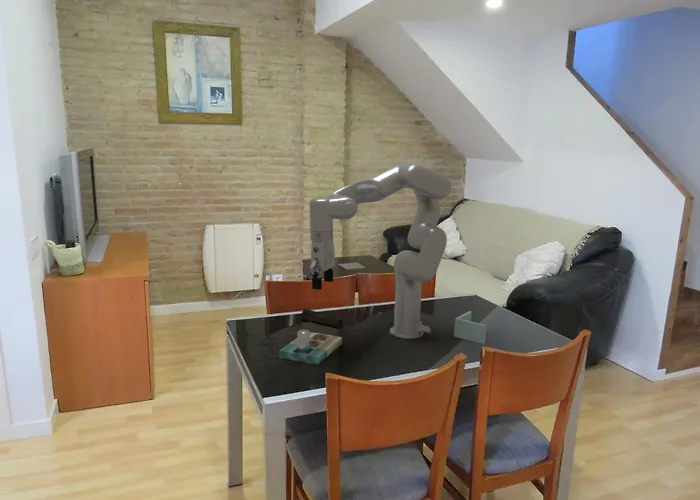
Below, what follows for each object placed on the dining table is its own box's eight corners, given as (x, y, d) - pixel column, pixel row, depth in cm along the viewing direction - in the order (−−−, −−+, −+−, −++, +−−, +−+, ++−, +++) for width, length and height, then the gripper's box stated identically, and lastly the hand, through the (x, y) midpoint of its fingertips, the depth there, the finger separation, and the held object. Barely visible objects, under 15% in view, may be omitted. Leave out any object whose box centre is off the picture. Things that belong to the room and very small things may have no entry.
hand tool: (344, 326, 205) (344, 315, 204) (338, 329, 201) (338, 317, 200) (305, 317, 215) (305, 306, 214) (299, 320, 212) (299, 309, 211)
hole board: (341, 343, 186) (342, 337, 186) (317, 365, 168) (318, 357, 167) (306, 338, 191) (306, 331, 191) (279, 357, 173) (279, 350, 173)
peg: (311, 356, 175) (311, 330, 173) (306, 360, 171) (306, 334, 170) (300, 354, 176) (300, 328, 175) (295, 358, 173) (295, 332, 171)
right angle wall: (484, 345, 189) (485, 325, 187) (453, 337, 196) (455, 318, 195) (497, 336, 198) (498, 317, 197) (467, 329, 205) (469, 311, 204)
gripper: (321, 240, 164) (322, 293, 168) (342, 231, 180) (342, 279, 184) (299, 239, 167) (301, 291, 170) (321, 230, 183) (323, 277, 186)
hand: (323, 285), depth 177 cm, fingers open, 9 cm apart
